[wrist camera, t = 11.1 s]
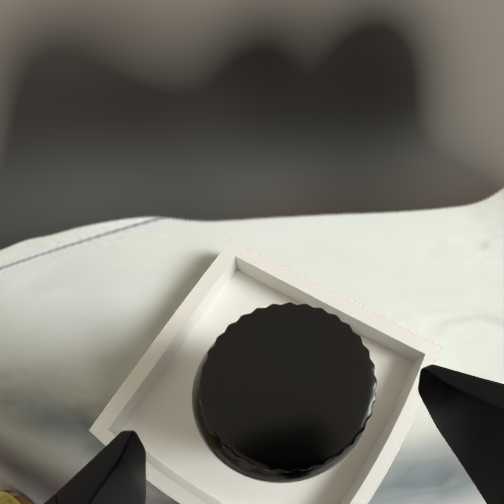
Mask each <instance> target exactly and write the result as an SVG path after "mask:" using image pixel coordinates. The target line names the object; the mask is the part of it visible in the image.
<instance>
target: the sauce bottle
mask: <svg viewBox="0 0 504 504" xmlns="http://www.w3.org/2000/svg"><path fill="white" fill-rule="evenodd" d="M0 504H33V503H32V502H31V501H30V500H29V499H27V498H26V497H25V496H24V495H21V494H19V493H17V492H13V491H10V490H4V491H1V490H0Z"/></svg>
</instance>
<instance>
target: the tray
mask: <svg viewBox="0 0 504 504" xmlns="http://www.w3.org/2000/svg"><path fill="white" fill-rule="evenodd" d="M288 302H291V303H294V304H296V305H300V304H308V305H310V306H311V307H313V308H323V309H324V310H325V311H326V312H327V313H330V314H335V315H337V316H338V317H339V318H340V320H341V321H342V322H345V323H347V324H349V325H350V326H351V328H352V330H353V332H354V333H356V334H358V335H359V336H360V337H361V339H362V343H363V345H364V346H365V347H366V348H367V349H368V350H369V353H370V359H371V360H372V362H373V363H374V365H375V371H374V375H375V377H376V379H377V385H376V388H375V393H376V400H375V402H374V404H373V405H372V415H371V417H370V418H369V420H368V423H367V426H366V428H365V431H364V433H363V435H362V437H361V438H360V440H359V442H358V443H357V444H356V446H355V447H354V449H353V450H352V451H351V452H350V453H349V454H348V455H347V456H346V457H345V458H344V459H343V460H342V461H341V462H340V463H338V464H337V465H336V466H334V467H333V468H331V469H330V470H328V471H326V472H324V473H322V474H320V475H318V476H316V477H313V478H310V479H307V480H303V481H299V482H293V483H268V482H262V481H258V480H254V479H251V478H248V477H245V476H243V475H241V474H239V473H237V472H235V471H233V470H232V469H230V468H228V467H227V466H226V465H224V464H223V463H222V462H221V461H220V460H219V459H217V458H216V457H215V456H214V454H213V453H212V452H211V451H210V450H209V449H208V447H207V446H206V444H205V443H204V441H203V439H202V438H201V436H200V434H199V431H198V429H197V426H196V423H195V420H194V415H193V410H192V389H193V383H194V379H195V375H196V372H197V369H198V367H199V365H200V362H201V360H202V359H203V357H204V355H205V353H206V352H207V351H208V349H209V348H210V347H211V345H212V344H213V343H214V342H215V341H216V338H217V337H218V336H219V335H221V334H222V333H224V332H225V330H226V328H227V327H228V325H229V324H232V323H235V322H237V321H238V319H239V318H240V317H241V316H242V315H244V314H249V313H252V312H253V311H254V310H255V309H256V308H266V307H268V306H269V305H271V304H279V305H283V304H285V303H288ZM441 349H442V346H440V345H438V344H436V343H434V342H432V341H430V340H428V339H426V338H424V337H422V336H420V335H418V334H416V333H415V332H413V331H411V330H409V329H407V328H405V327H403V326H401V325H399V324H397V323H395V322H393V321H391V320H389V319H387V318H385V317H383V316H381V315H379V314H377V313H376V312H374V311H372V310H370V309H368V308H366V307H364V306H362V305H360V304H358V303H356V302H354V301H352V300H350V299H348V298H346V297H344V296H342V295H340V294H338V293H336V292H334V291H333V290H331V289H329V288H327V287H325V286H323V285H321V284H319V283H317V282H315V281H313V280H311V279H309V278H307V277H305V276H303V275H301V274H299V273H297V272H295V271H293V270H291V269H289V268H287V267H286V266H284V265H282V264H280V263H278V262H276V261H274V260H272V259H270V258H268V257H266V256H264V255H262V254H260V253H258V252H256V251H254V250H252V249H250V248H248V247H246V246H244V245H242V244H240V243H238V242H236V241H234V240H233V239H231V240H230V241H229V242H228V244H227V245H226V246H225V248H224V249H223V250H222V251H221V253H220V254H219V255H218V257H217V258H216V259H215V260H214V262H213V263H212V264H211V266H210V267H209V268H208V270H207V271H206V272H205V273H204V275H203V276H202V277H201V279H200V280H199V281H198V283H197V284H196V285H195V287H194V288H193V289H192V291H191V292H190V293H189V294H188V296H187V297H186V298H185V300H184V301H183V302H182V304H181V305H180V306H179V308H178V309H177V310H176V312H175V313H174V314H173V316H172V317H171V318H170V320H169V321H168V322H167V324H166V325H165V326H164V328H163V329H162V330H161V332H160V333H159V334H158V336H157V337H156V338H155V340H154V341H153V342H152V344H151V345H150V347H149V348H148V349H147V351H146V352H145V353H144V355H143V356H142V357H141V359H140V360H139V361H138V363H137V364H136V366H135V367H134V368H133V370H132V371H131V372H130V374H129V375H128V376H127V378H126V379H125V381H124V382H123V383H122V385H121V386H120V387H119V389H118V390H117V392H116V393H115V394H114V396H113V397H112V399H111V400H110V401H109V403H108V404H107V406H106V407H105V408H104V410H103V411H102V413H101V414H100V415H99V417H98V418H97V420H96V421H95V422H94V424H93V425H92V427H91V428H90V429H89V431H90V432H91V433H92V434H93V435H94V436H95V437H96V438H97V439H99V440H100V441H101V442H102V443H103V444H104V445H105V446H107V445H108V444H109V443H110V442H111V441H112V440H113V439H114V438H115V437H116V436H117V435H118V434H119V433H120V432H121V431H124V430H134V431H135V432H136V433H137V435H138V436H139V438H140V440H141V442H142V444H143V446H144V448H145V451H146V480H147V481H149V482H150V483H151V484H153V485H154V486H155V487H157V488H158V489H159V490H161V491H162V492H164V493H165V494H166V495H168V496H169V497H171V498H172V499H174V500H175V501H177V502H178V503H180V504H368V502H369V501H370V499H371V498H372V496H373V495H374V493H375V491H376V490H377V488H378V486H379V485H380V483H381V481H382V480H383V478H384V476H385V474H386V473H387V471H388V469H389V467H390V466H391V464H392V462H393V460H394V458H395V456H396V454H397V453H398V451H399V449H400V447H401V445H402V443H403V441H404V439H405V437H406V435H407V433H408V431H409V428H410V426H411V424H412V422H413V420H414V418H415V415H416V413H417V411H418V409H419V406H420V404H421V402H422V398H421V397H420V395H419V392H418V384H419V376H420V371H421V369H422V368H423V367H426V366H428V365H431V364H433V365H436V363H437V361H438V358H439V355H440V352H441Z"/></svg>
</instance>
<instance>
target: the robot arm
mask: <svg viewBox="0 0 504 504" xmlns="http://www.w3.org/2000/svg"><path fill="white" fill-rule="evenodd" d="M418 392H419V395H420V397H421V398H422V400H423V402H424V404H425V406H426V408H427V410H428V412H429V414H430V415H431V417H432V419H433V421H434V423H435V425H436V427H437V428H438V430H439V431H440V433H441V434H442V436H443V437H444V439H445V440H446V442H447V443H448V445H449V446H450V448H451V449H452V451H453V452H454V454H455V455H456V457H457V458H458V460H459V461H460V463H461V464H462V466H463V467H464V469H465V470H466V472H467V473H468V475H469V476H470V478H471V479H472V481H473V483H474V484H475V486H476V487H477V489H478V490H479V492H480V494H481V495H482V497H483V498H484V500H485V501H486V503H487V504H504V384H501V383H498V382H494V381H490V380H486V379H483V378H479V377H475V376H472V375H468V374H465V373H461V372H458V371H454V370H451V369H447V368H444V367H440V366H437V365H433V364H431V365H428V366H426V367H423V368H422V369H421V371H420V376H419V384H418ZM145 500H146V451H145V448H144V446H143V444H142V442H141V440H140V438H139V436H138V435H137V433H136V432H135V431H134V430H124V431H121V432H120V433H119V434H118V435H117V436H116V437H115V438H114V439H113V440H112V441H111V442H110V443H109V444H108V445H107V446H106V447H105V448H103V449H102V450H101V451H100V452H99V453H98V454H97V455H96V456H95V457H94V458H93V459H92V460H91V461H90V462H89V463H88V464H87V465H86V466H85V467H83V468H82V469H81V470H80V471H79V472H78V473H77V474H76V475H75V476H74V477H73V478H72V479H71V480H70V481H68V482H67V483H66V484H65V485H64V486H63V487H62V488H61V489H60V490H59V491H58V492H57V493H56V495H55V494H54V495H53V496H52V497H51V498H50V499H49V500H48V501H46V502H45V503H44V504H145Z"/></svg>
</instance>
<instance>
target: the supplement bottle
mask: <svg viewBox="0 0 504 504" xmlns="http://www.w3.org/2000/svg"><path fill="white" fill-rule="evenodd" d="M374 371H375V365H374V363H373V362H372V360H371V359H370V353H369V350H368V349H367V348H366V347H365V346H364V345H363V343H362V339H361V337H360V336H359V335H358V334H356V333H354V332H353V330H352V328H351V326H350V325H349V324H347V323H345V322H342V321H341V320H340V318H339V317H338V316H337V315H335V314H330V313H327V312H326V311H325V310H324V309H323V308H313V307H311V306H310V305H308V304H300V305H296V304H294V303H291V302H288V303H285V304H283V305H279V304H271V305H269V306H268V307H266V308H256V309H255V310H254V311H253V312H252V313H249V314H244V315H242V316H241V317H240V318H239V319H238V321H237V322H235V323H232V324H229V325H228V327H227V328H226V330H225V332H224V333H222V334H221V335H219V336H218V337H217V338H216V341H215V342H214V343H213V344H212V345H211V347H210V348H209V349H208V351H207V352H206V353H205V355H204V357H203V359H202V360H201V362H200V365H199V367H198V369H197V372H196V375H195V379H194V383H193V389H192V410H193V415H194V420H195V423H196V426H197V429H198V431H199V434H200V436H201V438H202V439H203V441H204V443H205V444H206V446H207V447H208V449H209V450H210V451H211V452H212V453H213V454H214V456H215V457H216V458H217V459H219V460H220V461H221V462H222V463H223V464H224V465H226V466H227V467H228V468H230V469H232V470H233V471H235V472H237V473H239V474H241V475H243V476H245V477H248V478H251V479H254V480H258V481H262V482H268V483H293V482H299V481H303V480H307V479H310V478H313V477H316V476H318V475H320V474H322V473H324V472H326V471H328V470H330V469H331V468H333V467H334V466H336V465H337V464H338V463H340V462H341V461H342V460H343V459H344V458H345V457H346V456H347V455H348V454H349V453H350V452H351V451H352V450H353V449H354V447H355V446H356V444H357V443H358V442H359V440H360V438H361V437H362V435H363V433H364V431H365V428H366V426H367V423H368V420H369V418H370V417H371V415H372V405H373V404H374V402H375V400H376V393H375V388H376V385H377V379H376V377H375V375H374Z"/></svg>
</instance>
